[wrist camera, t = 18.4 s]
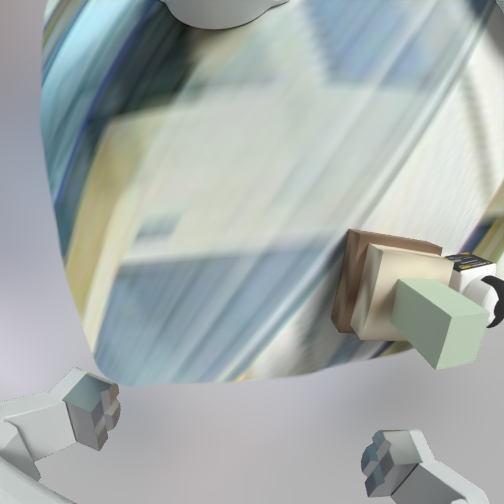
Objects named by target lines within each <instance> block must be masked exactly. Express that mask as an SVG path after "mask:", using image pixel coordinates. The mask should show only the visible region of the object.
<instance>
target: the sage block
mask: <svg viewBox="0 0 504 504" xmlns="http://www.w3.org/2000/svg"><path fill="white" fill-rule="evenodd" d="M489 315H490V312H489V311H487V310H486V309H484V308H483V307H481V306H479V305H478V304H476V303H475V302H473V301H471V300H470V299H468V298H466V297H465V296H463V295H461V294H460V293H458V292H457V291H455V290H453V289H451V288H450V287H448V286H446V285H445V284H443V283H441V282H440V281H438V280H436V279H398V285H397V291H396V296H395V301H394V306H393V311H392V316H391V321H390V322H391V323H392V324H393V325H394V326H395V328H396V329H397V330H398V331H399V332H400V333H401V334H402V335H403V336H404V337H405V338H406V339H407V340H408V341H409V342H410V343H411V344H412V345H413V346H414V348H415V349H416V350H417V351H418V352H419V353H420V354H421V355H422V356H423V357H424V358H425V359H426V360H427V362H428V363H429V364H430V365H431V366H432V367H433V368H434V369H435V370H439V369H444V368H449V367H454V366H458V365H463V364H467V363H471V362H474V361H475V358H476V356H477V353H478V350H479V347H480V344H481V341H482V338H483V335H484V332H485V329H486V326H487V322H488V319H489Z"/></svg>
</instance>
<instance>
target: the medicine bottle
mask: <svg viewBox="0 0 504 504" xmlns="http://www.w3.org/2000/svg"><path fill="white" fill-rule="evenodd" d="M444 258H446V259H448V260H450V261H453V262H454V266H453V270H452V274H451V278H450V281H449V285H448V287H450V288H451V289H453V290H455V291H457V292H458V293H460V294H461V295H463V296H465V297H466V298H468V299H470V300H471V301H473V302H475V303H476V304H478V305H479V306H481V307H483V308H484V309H486V310H487V311H489V312H490V315H489V319H488V322H487V326H486V328H491V327H494V326H496V325H498V324H499V323H500V322H501V321H502V320H503V319H504V281H503V280H501V279H499V278H497V277H495V272H496V264H494V263H492V262H490V261H487V260H485V259H482V258H480V257H477V256H475V255H473V254H470V253H462V254H456V255H450V256H445V257H444Z"/></svg>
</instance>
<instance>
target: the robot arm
mask: <svg viewBox="0 0 504 504" xmlns="http://www.w3.org/2000/svg"><path fill="white" fill-rule="evenodd" d="M160 1H162V2H164V3H165V4H166V5H167V6H168V8H169V10H170V12H171V13H172V14H173V15H174V16H175V17H176V18H177V19H178V20H180V21H181V22H183V23H185V24H188V25H190V26H193V27H197V28H203V29H225V28H231V27H236V26H239V25H242V24H245V23H247V22H250V21H252V20H254V19H255V18H257V17H259V16H260V15H261V14H263V13H264V12H265V11H266V10H267V9H269V8H270V7H272V6H275V5H279V4H282V3H285V2H287V1H289V0H160ZM118 394H119V388H118V385H117V384H116V383H114V382H111V381H109V380H106V379H104V378H101V377H99V376H96V375H94V374H92V373H88V372H86V371H84V370H82V369H79V368H73V369H72V370H71V371H70V372H69V373H68V374H67V375H66V376H65V377H64V378H63V379H62V380H61V381H60V382H59V383H58V384H57V385H56V386H55V387H54V388H53V389H52V390H51V391H50V392H49V393H47V392H41V393H37V394H32V395H28V396H23V397H19V398H14V399H10V400H5V401H0V504H76V503H74V502H72V501H70V500H69V499H67V498H65V497H63V496H61V495H59V494H57V493H56V492H54V491H52V490H50V489H48V488H47V487H45V486H44V485H42V484H40V483H39V482H38V481H39V479H40V478H41V477H40V473H39V471H38V470H37V468H36V466H35V464H34V462H35V461H37V460H39V459H42V458H44V457H46V456H48V455H51V454H53V453H55V452H57V451H60V450H62V449H64V448H66V447H68V446H70V445H72V444H75V443H76V441H77V442H79V443H82V444H84V445H86V446H88V447H91V448H93V449H95V450H98V451H100V450H101V448H102V447H103V445H104V443H105V442H106V440H107V439H108V434H107V431H109V430H112V429H114V427H115V426H116V424H117V422H118V419H119V416H120V403H119V401H118V400H117V398H116V397H117V395H118ZM372 439H373V443H372V444H371V445H370V446H368V447H367V448H366V449H365V451H364V453H363V455H362V459H361V468H362V472H363V474H365V475H366V476H367V477H368V478H367V480H366V481H365V486H366V491H367V495H368V497H383V496H391V498H392V499H393V500H394V501H395V503H396V504H490V503H489V501H488V498H487V497H486V495H485V493H484V491H483V490H481V489H480V488H478V487H477V486H475V485H474V484H472V483H471V482H469V481H468V480H466V479H465V478H463V477H462V476H460V475H459V474H457V473H456V472H454V471H453V470H451V469H450V468H448V467H447V466H446V465H444V464H442V463H441V462H440V461H435V459H434V457H433V455H432V453H431V451H430V449H429V447H428V444H427V443H426V440H425V438H424V436H423V434H422V432H421V431H420V430H419V429H410V430H409V429H408V430H379V431H377V432H376V433H375V435H374V436H373V438H372Z"/></svg>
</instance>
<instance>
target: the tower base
mask: <svg viewBox="0 0 504 504" xmlns="http://www.w3.org/2000/svg"><path fill="white" fill-rule="evenodd" d="M369 243H370V244H376V245H383V246H389V247H396V248H402V249H408V250H414V251H420V252H426V253H432V254H437V255H439V256H441V252H442V247H439V246H437V245H434V244H432V243H429V242H427V241H421V240H415V239H409V238H404V237H398V236H392V235H386V234H379V233H373V232H367V231H360V230H354V229H349V232H348V238H347V243H346V249H345V254H344V260H343V265H342V270H341V275H340V280H339V284H338V289H337V294H336V298H335V303H334V307H333V312H332V316H331V320H332V321H333V323H334V325H335V326H336V328H337V330H338V332H340V333H355V331H354V330H353V328H352V327H351V325H350V322H351V319H352V315H353V311H354V307H355V303H356V299H357V295H358V291H359V287H360V282H361V278H362V274H363V269H364V264H365V260H366V255H367V250H368V245H369Z"/></svg>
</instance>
